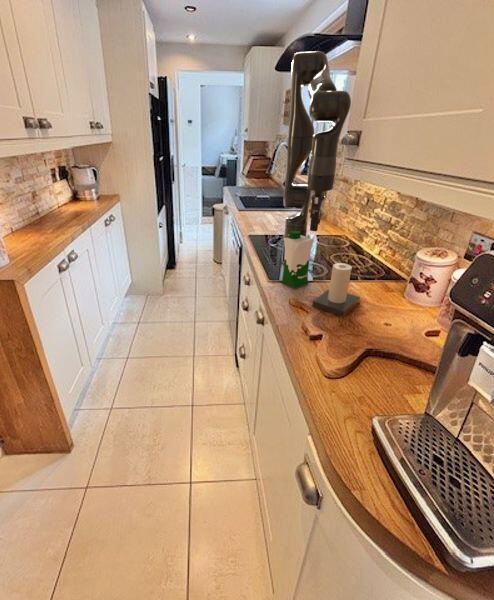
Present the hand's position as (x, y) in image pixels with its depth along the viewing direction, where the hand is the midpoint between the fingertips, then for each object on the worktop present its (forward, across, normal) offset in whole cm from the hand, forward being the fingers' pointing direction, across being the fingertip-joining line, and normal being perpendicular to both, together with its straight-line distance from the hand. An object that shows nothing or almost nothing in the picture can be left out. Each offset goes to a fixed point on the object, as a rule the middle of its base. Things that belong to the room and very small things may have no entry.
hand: (315, 227), depth 102 cm
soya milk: (+26, -12, -6) cm, 30 cm away
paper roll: (+24, 0, +10) cm, 26 cm away
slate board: (+26, 0, +10) cm, 28 cm away
